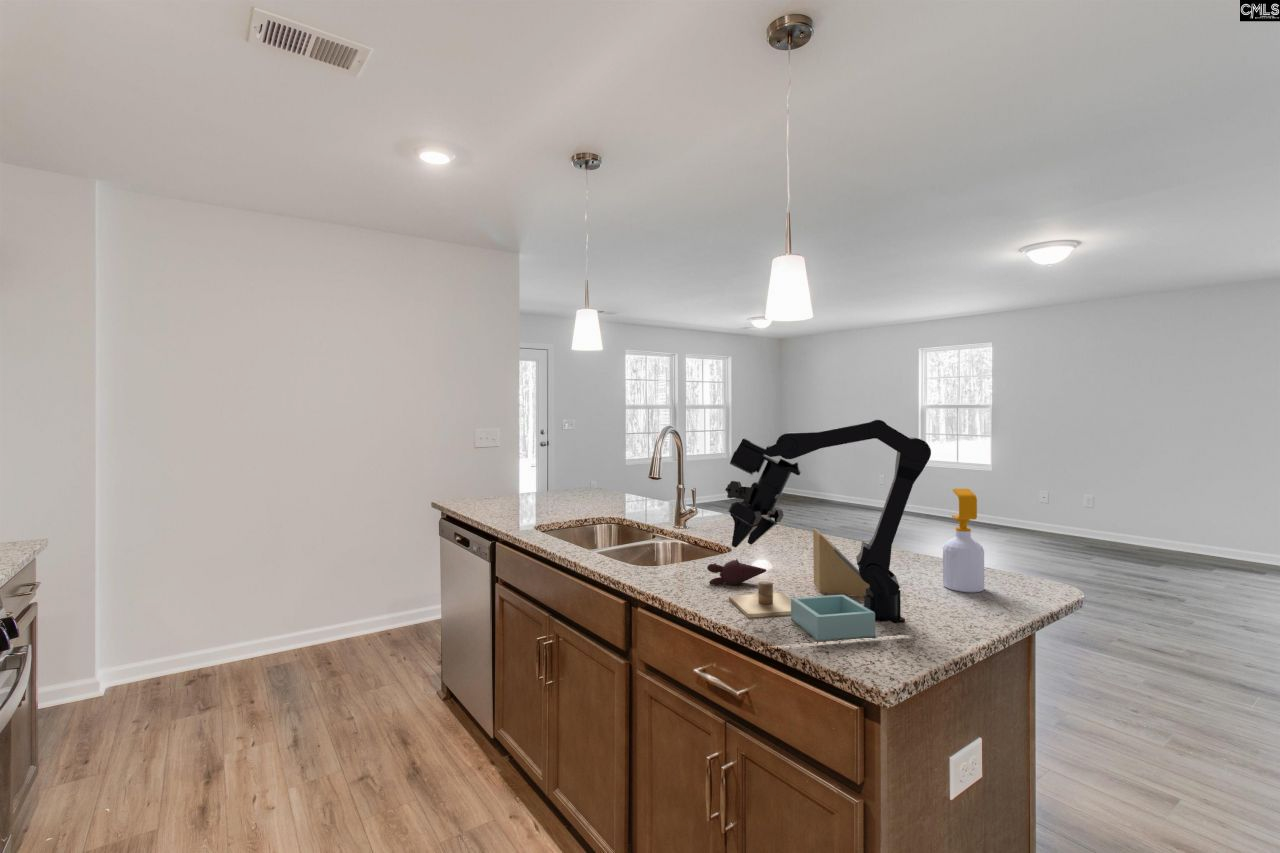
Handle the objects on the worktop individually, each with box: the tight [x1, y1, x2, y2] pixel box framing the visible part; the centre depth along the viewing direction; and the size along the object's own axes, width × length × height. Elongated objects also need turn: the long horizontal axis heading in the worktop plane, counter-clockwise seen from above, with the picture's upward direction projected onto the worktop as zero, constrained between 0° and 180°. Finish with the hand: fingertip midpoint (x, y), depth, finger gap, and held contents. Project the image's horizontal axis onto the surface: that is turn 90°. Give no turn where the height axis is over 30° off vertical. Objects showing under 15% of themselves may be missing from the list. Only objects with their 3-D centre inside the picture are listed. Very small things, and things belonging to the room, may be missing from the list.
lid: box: [728, 580, 791, 619], centre depth 134 cm, size 13×13×5 cm
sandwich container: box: [812, 527, 870, 597], centre depth 147 cm, size 9×15×15 cm, turn 84°
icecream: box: [706, 558, 767, 586], centre depth 153 cm, size 7×7×15 cm
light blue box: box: [790, 594, 876, 641], centre depth 121 cm, size 12×12×5 cm
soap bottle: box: [942, 488, 985, 594], centre depth 148 cm, size 9×9×25 cm
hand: (741, 545), depth 136 cm, fingers open, 9 cm apart
